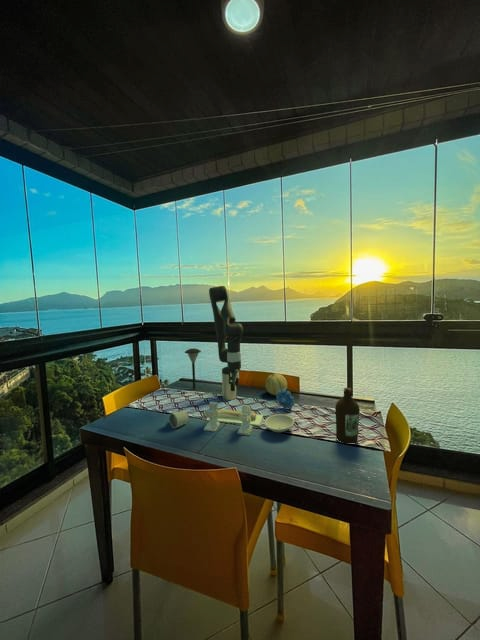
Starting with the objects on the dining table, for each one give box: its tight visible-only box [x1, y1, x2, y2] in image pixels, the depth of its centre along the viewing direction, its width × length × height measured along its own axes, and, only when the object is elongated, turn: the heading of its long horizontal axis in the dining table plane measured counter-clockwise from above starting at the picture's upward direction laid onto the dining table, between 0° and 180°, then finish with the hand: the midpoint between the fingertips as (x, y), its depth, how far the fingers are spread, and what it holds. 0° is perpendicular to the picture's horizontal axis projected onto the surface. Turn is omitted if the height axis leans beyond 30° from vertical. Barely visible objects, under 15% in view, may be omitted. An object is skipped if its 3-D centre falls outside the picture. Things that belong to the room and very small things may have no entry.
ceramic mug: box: [168, 410, 189, 429], centre depth 152 cm, size 11×8×8 cm
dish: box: [263, 413, 295, 433], centre depth 143 cm, size 18×14×5 cm
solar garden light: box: [184, 347, 202, 391], centre depth 205 cm, size 12×12×30 cm
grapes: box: [275, 389, 295, 410], centre depth 168 cm, size 12×7×12 cm, turn 60°
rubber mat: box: [205, 413, 264, 426], centre depth 158 cm, size 12×30×1 cm, turn 75°
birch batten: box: [218, 408, 257, 420], centre depth 158 cm, size 3×24×3 cm, turn 76°
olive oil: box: [334, 387, 361, 444], centre depth 132 cm, size 11×11×25 cm
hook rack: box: [203, 401, 254, 436], centre depth 146 cm, size 8×24×12 cm, turn 75°
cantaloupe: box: [265, 372, 288, 396], centre depth 193 cm, size 15×15×15 cm
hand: (234, 388), depth 157 cm, fingers open, 8 cm apart
